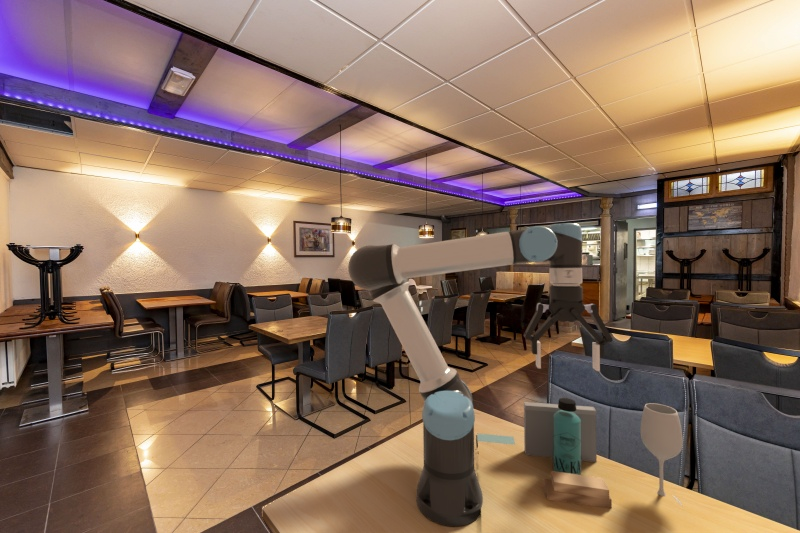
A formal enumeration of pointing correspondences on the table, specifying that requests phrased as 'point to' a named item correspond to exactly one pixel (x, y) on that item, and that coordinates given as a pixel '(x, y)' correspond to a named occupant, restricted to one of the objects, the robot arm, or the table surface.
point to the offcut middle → (574, 497)
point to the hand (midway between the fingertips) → (566, 368)
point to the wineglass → (661, 435)
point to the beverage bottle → (567, 438)
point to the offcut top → (579, 484)
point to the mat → (495, 439)
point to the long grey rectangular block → (542, 430)
